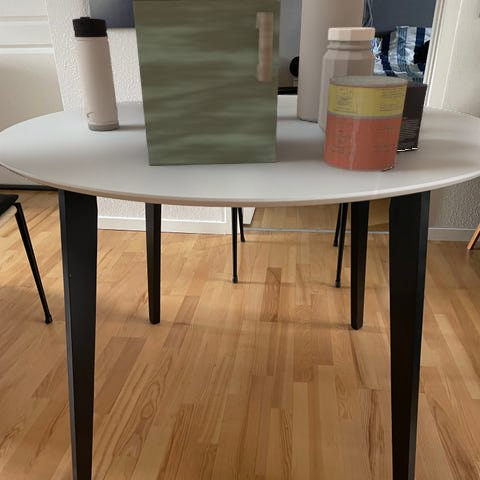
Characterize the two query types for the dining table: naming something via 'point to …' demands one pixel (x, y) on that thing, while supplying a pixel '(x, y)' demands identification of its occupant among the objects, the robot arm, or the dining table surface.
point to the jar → (345, 60)
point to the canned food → (363, 122)
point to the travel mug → (96, 73)
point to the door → (209, 80)
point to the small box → (412, 115)
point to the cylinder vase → (320, 46)
